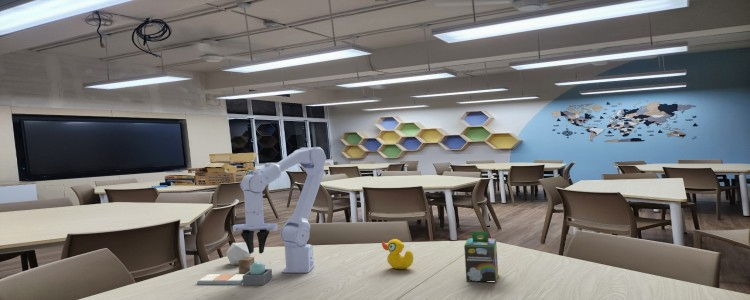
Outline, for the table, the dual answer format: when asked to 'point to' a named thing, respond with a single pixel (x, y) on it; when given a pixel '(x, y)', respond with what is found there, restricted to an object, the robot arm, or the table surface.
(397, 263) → the duckling
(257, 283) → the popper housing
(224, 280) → the game board
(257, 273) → the dome
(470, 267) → the chalk box
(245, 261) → the brown wooden block
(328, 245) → the table surface
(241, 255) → the die
